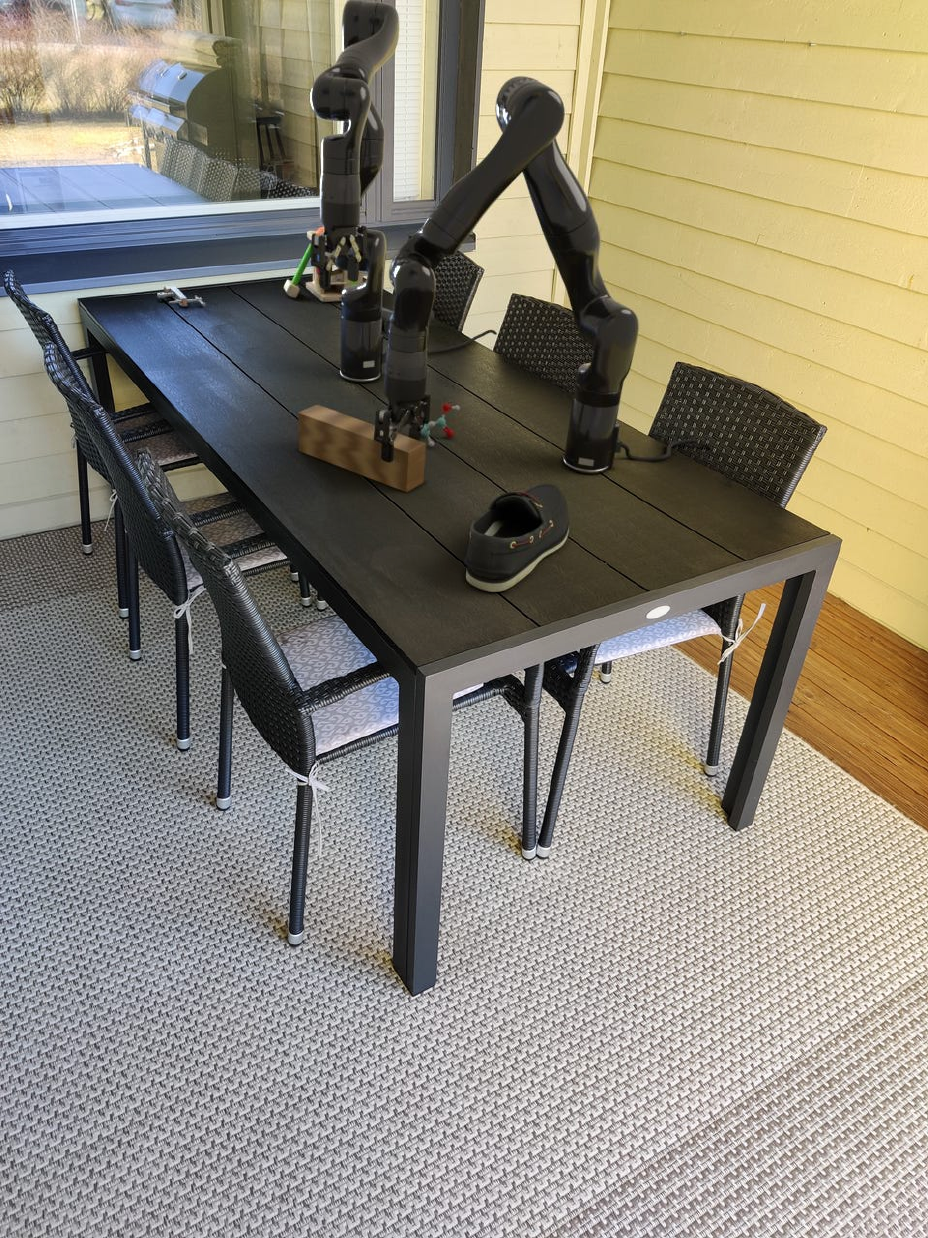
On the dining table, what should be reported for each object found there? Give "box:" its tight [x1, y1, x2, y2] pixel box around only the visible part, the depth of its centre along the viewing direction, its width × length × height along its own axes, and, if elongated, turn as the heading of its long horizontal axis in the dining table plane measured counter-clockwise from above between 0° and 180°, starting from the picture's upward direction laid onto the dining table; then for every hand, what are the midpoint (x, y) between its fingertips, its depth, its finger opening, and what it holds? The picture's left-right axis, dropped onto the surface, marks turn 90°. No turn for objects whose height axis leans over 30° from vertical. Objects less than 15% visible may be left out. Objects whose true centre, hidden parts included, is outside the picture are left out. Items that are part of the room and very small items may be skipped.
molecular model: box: [421, 403, 461, 448], centre depth 203 cm, size 12×10×10 cm
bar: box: [297, 404, 427, 493], centre depth 190 cm, size 26×6×8 cm, turn 57°
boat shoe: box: [464, 483, 570, 593], centre depth 168 cm, size 13×33×10 cm, turn 147°
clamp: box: [156, 285, 207, 307], centre depth 265 cm, size 15×2×10 cm
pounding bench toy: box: [283, 226, 367, 303], centre depth 277 cm, size 23×14×18 cm, turn 116°
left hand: (339, 284), depth 194 cm, fingers open, 8 cm apart
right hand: (400, 454), depth 184 cm, fingers open, 8 cm apart
